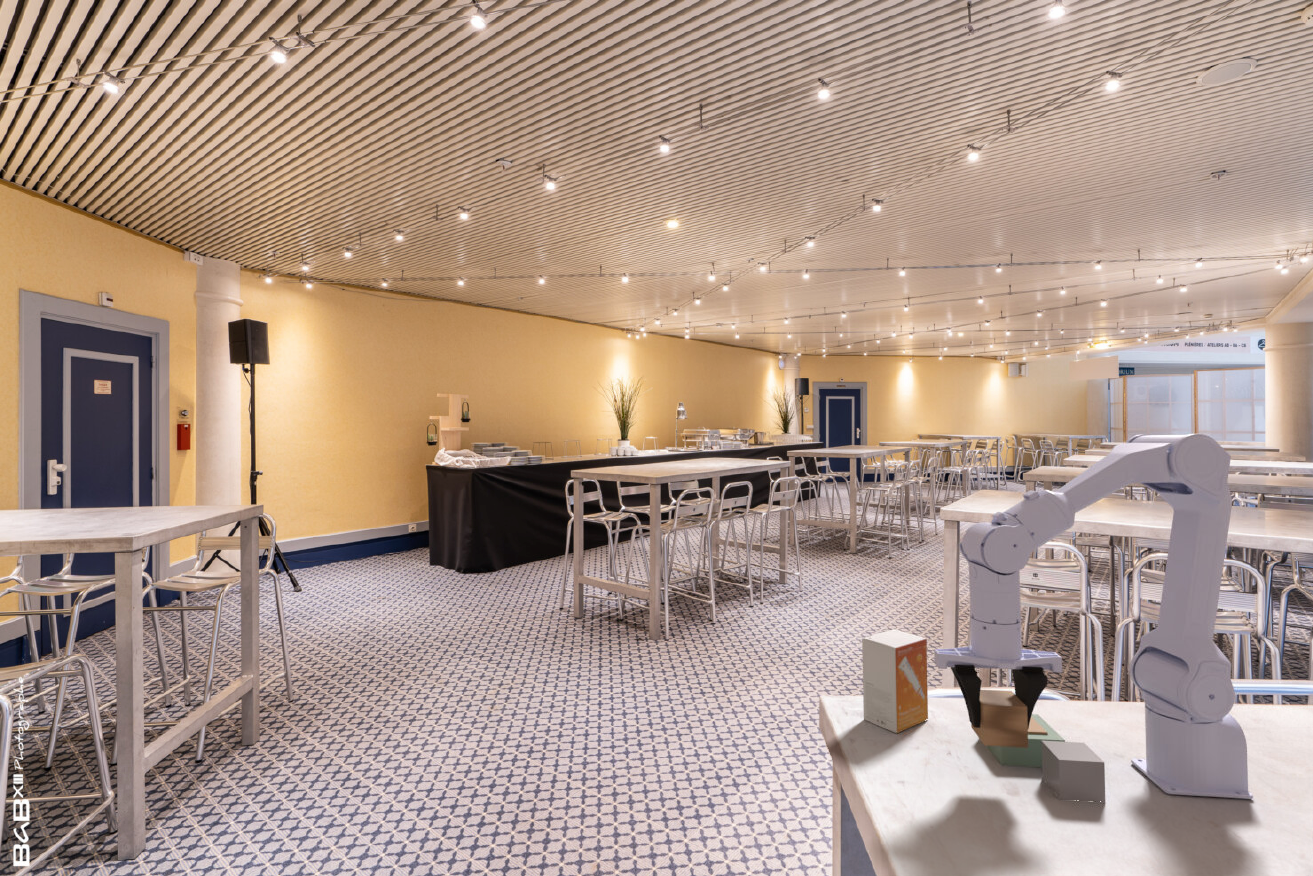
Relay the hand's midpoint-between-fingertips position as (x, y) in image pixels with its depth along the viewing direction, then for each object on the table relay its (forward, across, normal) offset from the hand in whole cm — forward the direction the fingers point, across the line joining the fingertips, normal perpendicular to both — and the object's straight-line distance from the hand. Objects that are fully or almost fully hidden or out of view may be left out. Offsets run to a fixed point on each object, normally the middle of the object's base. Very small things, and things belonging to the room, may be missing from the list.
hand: (998, 725), depth 81 cm
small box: (+8, -9, +18) cm, 22 cm away
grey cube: (+8, +8, 0) cm, 11 cm away
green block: (+8, +6, +10) cm, 14 cm away
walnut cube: (+2, 0, 0) cm, 2 cm away
